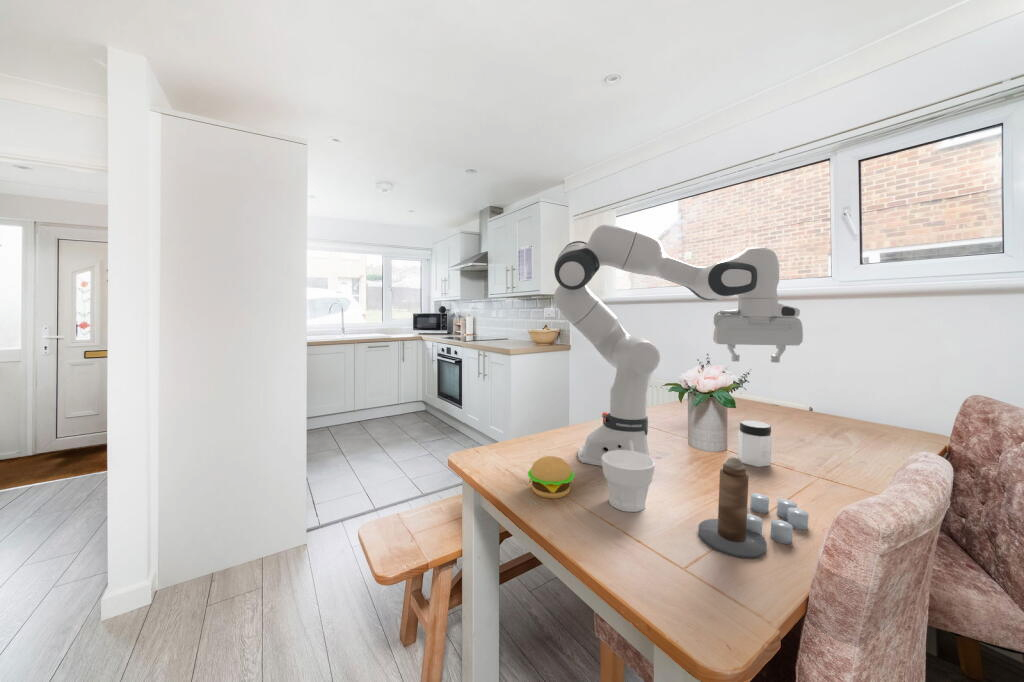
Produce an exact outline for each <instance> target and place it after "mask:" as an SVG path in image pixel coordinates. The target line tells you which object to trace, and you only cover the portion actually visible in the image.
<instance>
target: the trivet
mask: <svg viewBox="0 0 1024 682" xmlns="http://www.w3.org/2000/svg"><path fill="white" fill-rule="evenodd" d="M697 527H698V536H699V538H700V539H701V541H703V543H705V544H706V545H707V546H708V547H710V548H712V549H713V550H715V551H717V552H720V553H721V554H724V555H727V556H731V557H735V558H739V559H758V558H762V557H763V556H764V555H765V554H767V551H768V550H767V549H768V546H767V545H768V544H767V541H766V539H765V538H764V536H763V535H762V536H761V535H760V534H759V533H756V532H751V531H748V530H746V540H745V541H744V542H733V541H729V540H726V539H724V538H723V537H721V536H720V535H719V534H718V518H709V519H705V520H703V521H701V522H700V523H699V524H698V526H697Z"/></svg>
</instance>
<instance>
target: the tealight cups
mask: <svg viewBox="0 0 1024 682" xmlns="http://www.w3.org/2000/svg"><path fill="white" fill-rule="evenodd" d="M749 500H750V503H749V506H748V505H747V526H746V530H748V531H751V532H756V533H759V534H760V535H761V536H762V537H763V523H764V521H763V519H762V518H761V517H759V516H757V515H754V514H751V513H750V512H749V511H750V509H751V510H752V511H754V512H756V513H759V514H768V513H769V505H770V499H769V497H768V496H767V495H764V494H761V493H756V492H752V493H750V499H749ZM776 514H777V516H778V517H780V518H782V519H786V521H785V520H782V519H772V520H771V521H770V538H771V539H773V540H774V541H776V542H778V543H781V544H785V545H790V544H793V543H792V542H793V532H794V530H793V529H795V530H796V529H797V530H800V531H806V530H808V528H809V513H808V512H807V511H805V510H803V509H801V508H798V504H797V503H796V502H794V501H793V500H790V499H785V498H778V499H777V504H776Z"/></svg>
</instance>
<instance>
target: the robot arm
mask: <svg viewBox="0 0 1024 682" xmlns="http://www.w3.org/2000/svg"><path fill="white" fill-rule="evenodd" d="M777 253H778V252H776V251H775V250H773V249H771V248H767V247H747V248H746V249H744V250H742V251H741V252H739V253H738V254H736V255H734V256H732V257H730V258H727V259H725V260H722V261H718V262H717V263H713V264H711V265H705V266H696V265H693V264H689V263H687V262H684V261H681V260H679V259H675V258H673V257H671V256H669V254H667V253H666V252H665V250H664V247H663V245H662V243H661V241H660V240H659V239H657V238H655V237H654V236H652V235H650V234H647V233H645V232H642V231H639V230H636V229H633V228H629V227H626V226H620V225H613V224H612V225H611V224H602V225H598V227H596V228H594V230H593V232H592V233H591V235H590V237H589V240H588V242H585V241H582V240H581V241H580V240H578V241H577V240H576V241H572V242H570V243H568V244H567V245H566V246H565V247H564V248H563V249H562V250H561V251H560V253H559V255H558V257H557V260H556V262H555V263H554V268H553V269H554V272H553V273H554V277H555V280H556V281H557V283H558V284H559V286H558V287H557V288H556V289H555V290H554V294H553V303H554V304H555V306H556V307H557V309H558V310H559V311H560V313H561V314H562V315H563V316H564V317H565V319H566V320H567V321H568V322H569V323H570V324H571V325H572V326H573V327H574V328H575V329H577V331H579V332H580V334H582V335H583V337H585V338H586V340H588V341H589V342H590V343H591V344H592V346H593V347H594V348H595V350H597V352H598V353H599V354H600V355H601V356H602V358H604V359H605V361H606V362H607V363H608V364H609V365H610V366H612V367H613V368H616V373H615V378H614V382H613V385H612V387H610V391H609V392H610V393H609V398H610V399H609V412H607V411H603V412H602V414H601V417H602V425H600V426H599V427H597V428H595V429H594V430H593V431H591V432H590V433H589V434H588V435H587V436H586V439H585V442H584V445H583V446H581V447H580V448H579V449H578V451H577V459H578V461H579V462H581V463H584V464H588V465H593V466H599V467H603V466H602V459H601V457H602V455H603V454H604V453H606V452H609V451H614V450H628V451H635V452H639V453H642V454H645V455H647V456H649V457H651V455H650V453H649V452H650V451H649V446H648V437H647V436H648V432H649V417H648V415H647V411H648V410H647V409H648V408H647V407H648V406H647V405H648V391H649V386H650V382H651V379H652V375H653V373H654V371H655V370H657V368H658V367H659V364H660V361H661V355H660V351H659V349H658V348H657V346H656V345H655V344H653V343H652V342H651V341H649V340H647V339H646V338H642V337H636V336H632V335H631V334H629V333H628V332H627V330H625V328H624V327H623V325H622V324H621V322H620V321H619V319H618V316H617V315H616V314H615V313H614V312H613V311H612V310H611V309H610V308H609V307H608V306H607V305H606V304H605V303H603V301H602V300H601V299H600V298H599V297H597V296H596V295H595V294H594V292H592V291H591V289H590V288H589V286H588V283H590V281H592V279H593V277H594V276H595V274H596V273H597V272H598V271H599V270H600V267H602V266H608V267H612V268H615V269H618V270H621V271H624V272H628V273H632V274H637V275H643V276H650V277H656V278H660V279H663V280H666V281H668V282H671V283H674V284H677V285H680V286H683V287H685V288H687V289H688V290H689V291H690V292H691V293H693V294H694V295H695V296H696V297H697V298H699V299H700V300H704V301H714V300H715V301H716V300H718V299H725V298H730V297H734V296H737V297H738V302H737V303H738V304H737V305H738V306H737V309H731V310H725V309H722V310H719V311H718V312H716V313H715V314H714V316H713V325H714V331H713V336H712V337H713V338H712V339H713V342H714V343H715V344H716V345H727V347H726V348H727V350H728V351H729V353H730V355H731V361H732V362H740V357H741V355H740V354H736V352H735V350H734V349H736V345H741V346H742V345H743V346H744V345H745V346H748V345H749V346H751V345H752V346H775V348H776V350H777V351H776V353H775V354H773V355H772V354H771V356H770V363H778V364H779V363H780V362H781V356H783V353H785V351H786V346H794V347H795V346H796V347H797V346H800V345H801V344H802V343H803V341H804V340H803V339H804V330H803V323H802V321H801V320H800V318H798V317H800V315H801V310H800V309H799V308H798V307H793V306H789V305H786V304H782V303H779V295H778V292H777V290H778V289H777V288H778V285H779V283H780V260H779V256H778V254H777Z"/></svg>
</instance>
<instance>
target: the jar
mask: <svg viewBox="0 0 1024 682" xmlns="http://www.w3.org/2000/svg"><path fill="white" fill-rule="evenodd" d="M737 432H738V433H737V434H738V435H737V437H738V438H737V456H736V458H738V459H739V460H741V462H742V463H743V465H749V466H752V467H757V468H761V467H762V468H763V467H770V466H771V465H772V464H771V462H772V446H773V445H772V443H773V442H772V440H773V435H772V434H771V433H772V425H771V424H769V423H767V422H762V421H758V420H747V419H746V420H741V421H739V428H738V431H737Z"/></svg>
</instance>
